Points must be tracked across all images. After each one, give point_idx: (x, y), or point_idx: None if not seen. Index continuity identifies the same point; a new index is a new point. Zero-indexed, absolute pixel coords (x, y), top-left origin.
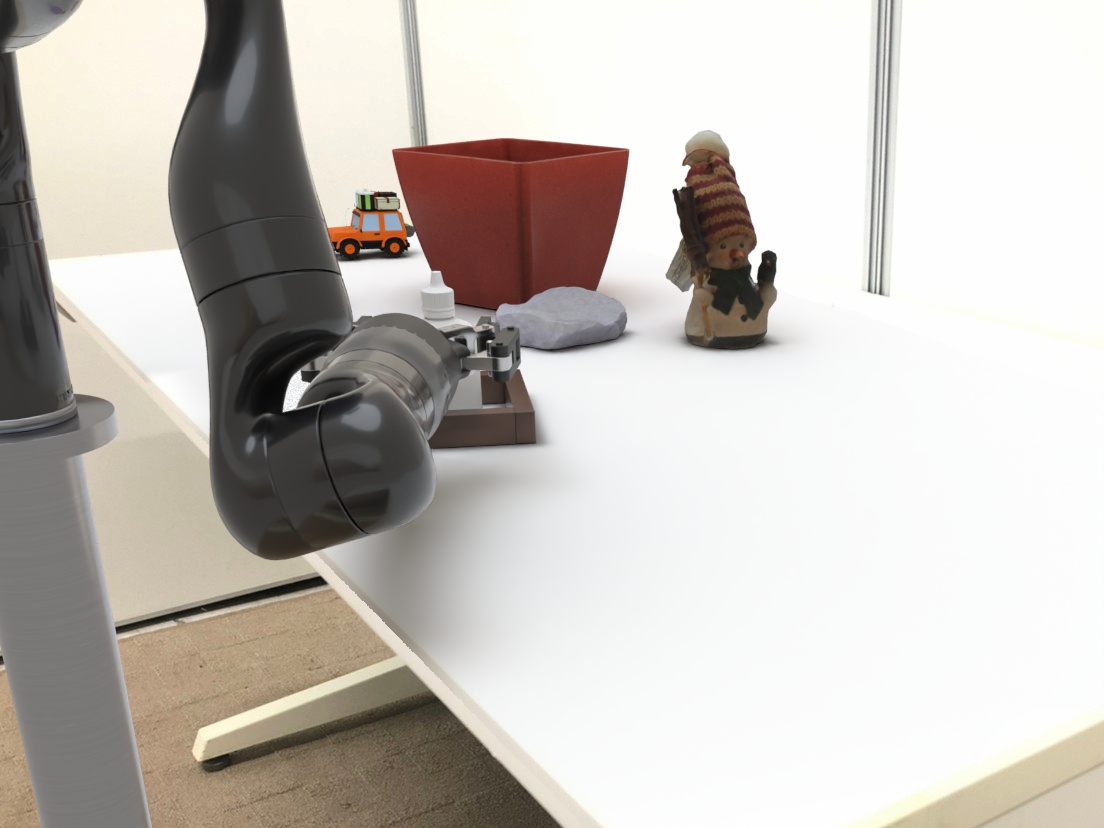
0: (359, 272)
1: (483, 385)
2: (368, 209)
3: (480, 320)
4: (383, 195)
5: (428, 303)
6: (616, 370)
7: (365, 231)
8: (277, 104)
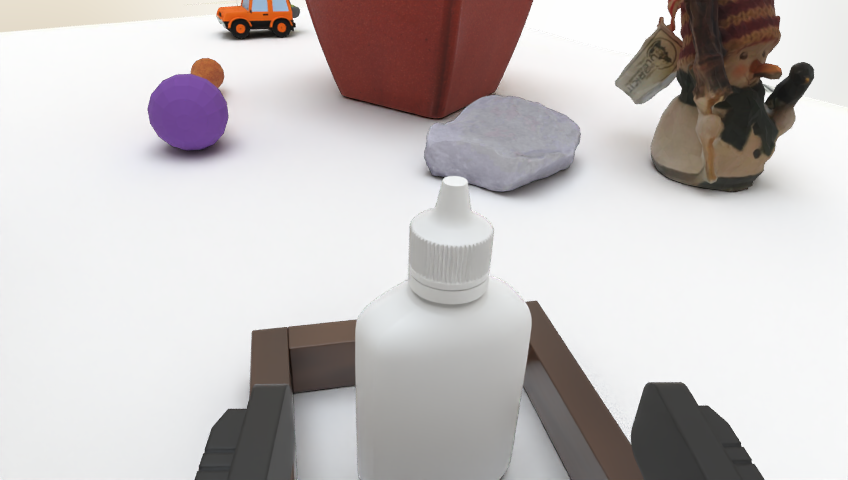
0: (249, 54)
1: None
2: None
3: (689, 438)
4: None
5: (433, 268)
6: (623, 246)
7: (254, 12)
8: None
